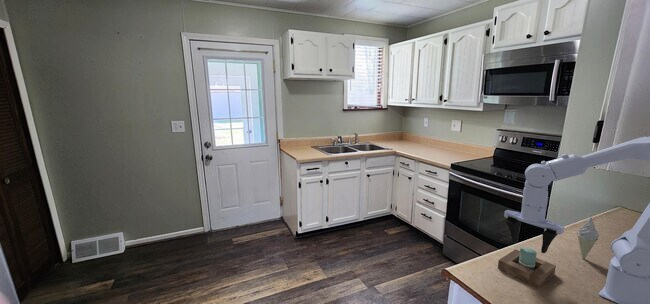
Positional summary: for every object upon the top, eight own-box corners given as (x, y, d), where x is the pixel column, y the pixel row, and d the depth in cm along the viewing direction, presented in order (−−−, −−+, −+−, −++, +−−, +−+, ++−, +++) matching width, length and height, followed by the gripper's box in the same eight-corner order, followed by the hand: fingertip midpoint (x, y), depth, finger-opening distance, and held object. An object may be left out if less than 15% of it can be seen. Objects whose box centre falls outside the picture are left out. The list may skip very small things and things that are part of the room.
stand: (554, 274, 82) (555, 265, 82) (538, 287, 77) (540, 278, 76) (514, 257, 91) (515, 249, 91) (497, 268, 86) (498, 259, 85)
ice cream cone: (598, 264, 87) (606, 220, 84) (579, 262, 88) (587, 219, 85) (586, 255, 92) (593, 214, 89) (569, 254, 93) (576, 213, 90)
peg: (536, 272, 83) (539, 251, 82) (530, 277, 81) (533, 255, 80) (521, 265, 87) (523, 245, 86) (515, 270, 85) (517, 249, 83)
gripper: (570, 209, 76) (564, 253, 78) (513, 195, 88) (509, 233, 91) (560, 215, 72) (554, 260, 75) (502, 199, 84) (498, 239, 87)
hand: (528, 246), depth 82 cm, fingers open, 7 cm apart
